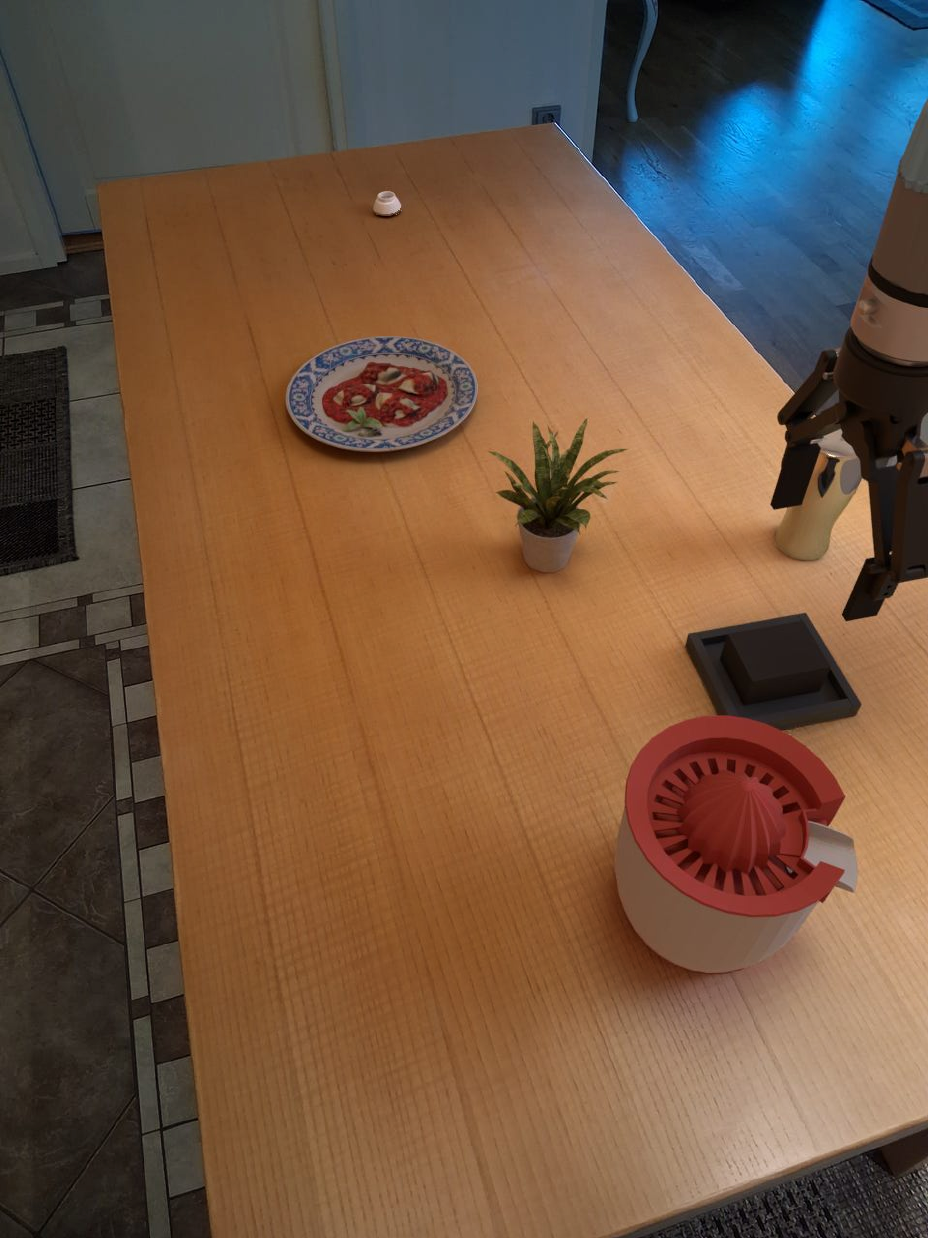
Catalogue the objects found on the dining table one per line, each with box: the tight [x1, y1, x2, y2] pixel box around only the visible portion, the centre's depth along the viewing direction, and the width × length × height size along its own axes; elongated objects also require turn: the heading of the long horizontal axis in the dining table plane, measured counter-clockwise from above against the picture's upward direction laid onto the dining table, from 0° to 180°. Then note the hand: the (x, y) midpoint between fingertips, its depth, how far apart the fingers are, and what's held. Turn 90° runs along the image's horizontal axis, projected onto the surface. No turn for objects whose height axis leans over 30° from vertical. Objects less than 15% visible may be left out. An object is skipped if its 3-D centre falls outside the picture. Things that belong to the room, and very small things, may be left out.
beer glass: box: [773, 429, 863, 562], centre depth 97 cm, size 7×7×15 cm
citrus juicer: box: [614, 715, 859, 975], centre depth 68 cm, size 16×17×20 cm
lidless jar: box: [372, 190, 402, 214], centre depth 157 cm, size 5×3×5 cm
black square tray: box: [685, 612, 862, 731], centre depth 90 cm, size 13×12×2 cm
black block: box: [720, 620, 831, 705], centre depth 88 cm, size 8×6×4 cm
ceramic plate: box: [285, 335, 479, 453], centre depth 121 cm, size 26×26×3 cm
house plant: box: [487, 417, 629, 574], centre depth 96 cm, size 14×14×16 cm
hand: (820, 557), depth 77 cm, fingers open, 13 cm apart
